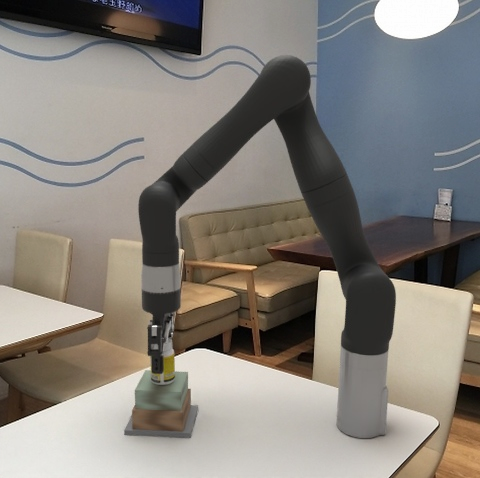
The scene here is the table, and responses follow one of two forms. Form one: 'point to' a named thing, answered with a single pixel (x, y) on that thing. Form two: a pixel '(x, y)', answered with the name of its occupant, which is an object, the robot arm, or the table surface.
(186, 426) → the baseplate
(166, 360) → the supplement bottle
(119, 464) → the table surface
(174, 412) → the brick tower
